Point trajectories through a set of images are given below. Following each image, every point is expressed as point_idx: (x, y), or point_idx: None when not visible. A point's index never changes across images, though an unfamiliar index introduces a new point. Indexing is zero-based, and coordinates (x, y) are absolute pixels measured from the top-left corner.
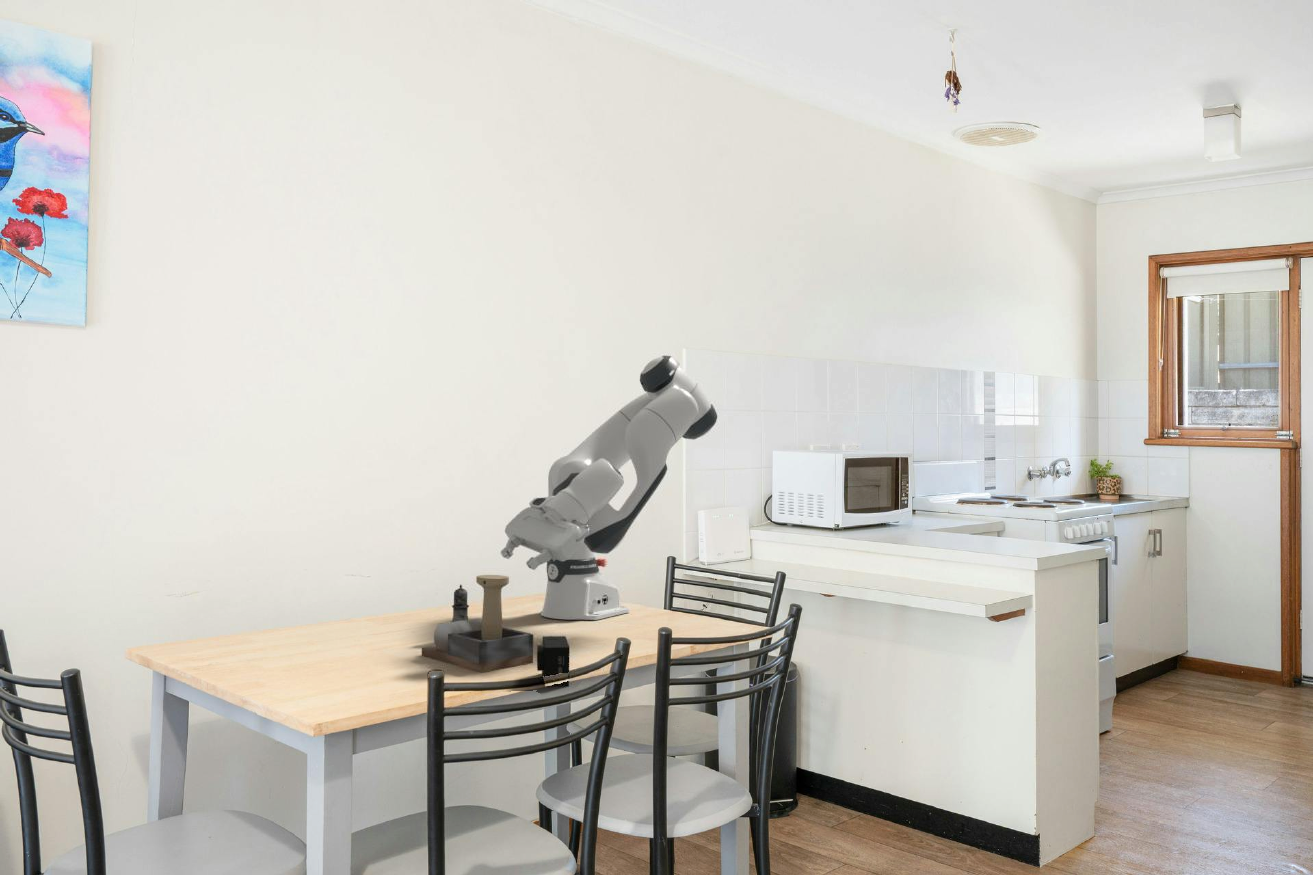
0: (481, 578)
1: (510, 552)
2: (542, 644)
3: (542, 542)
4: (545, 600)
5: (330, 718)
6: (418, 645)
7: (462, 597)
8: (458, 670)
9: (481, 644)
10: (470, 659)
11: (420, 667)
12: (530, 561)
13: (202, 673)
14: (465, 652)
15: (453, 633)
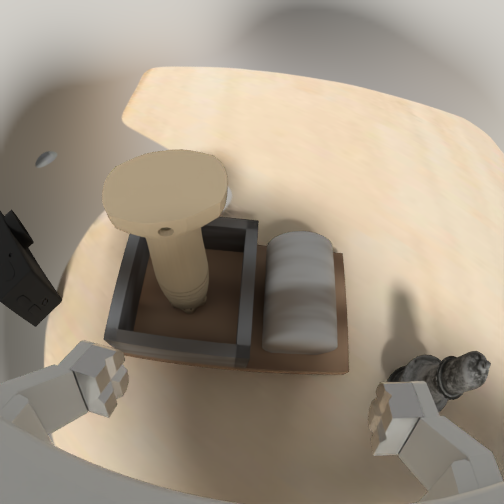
0: (177, 151)
1: (381, 430)
2: (36, 273)
3: (5, 434)
4: None
5: (152, 75)
6: (413, 306)
7: (455, 368)
8: None
9: None
10: None
11: (256, 206)
12: (87, 348)
13: (378, 95)
14: None
15: (254, 230)
